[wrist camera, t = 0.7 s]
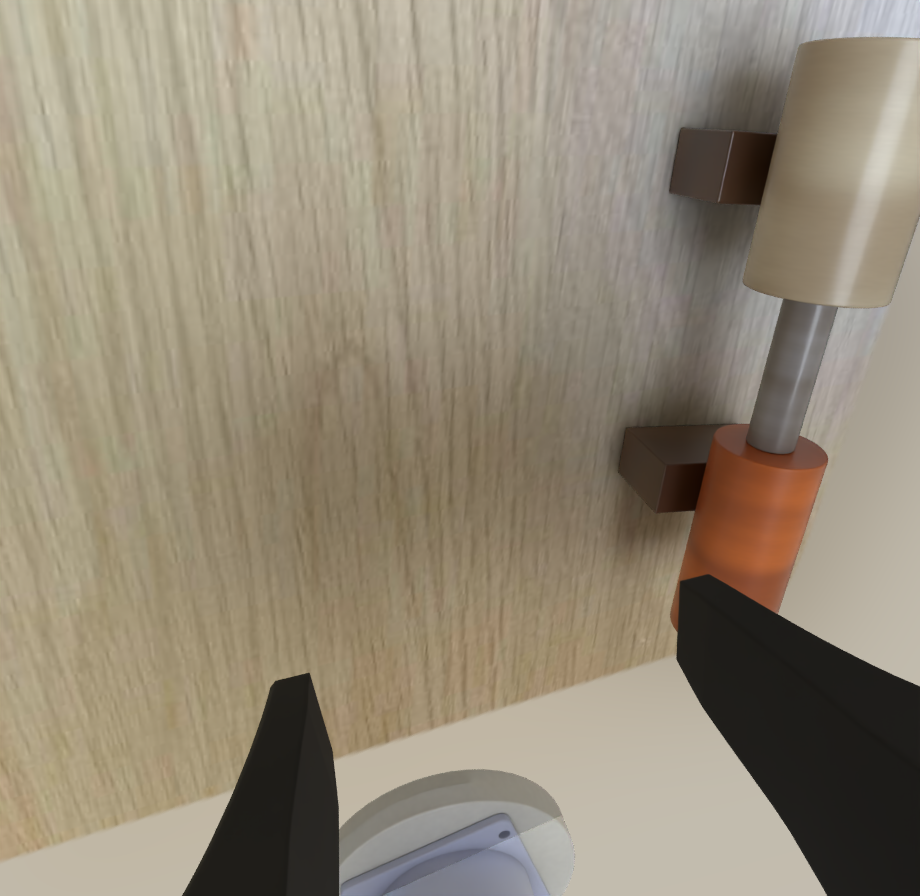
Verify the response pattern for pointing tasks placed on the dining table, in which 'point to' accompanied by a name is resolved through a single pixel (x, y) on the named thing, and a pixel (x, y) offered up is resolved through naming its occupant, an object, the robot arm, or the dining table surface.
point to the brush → (811, 293)
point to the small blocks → (723, 182)
